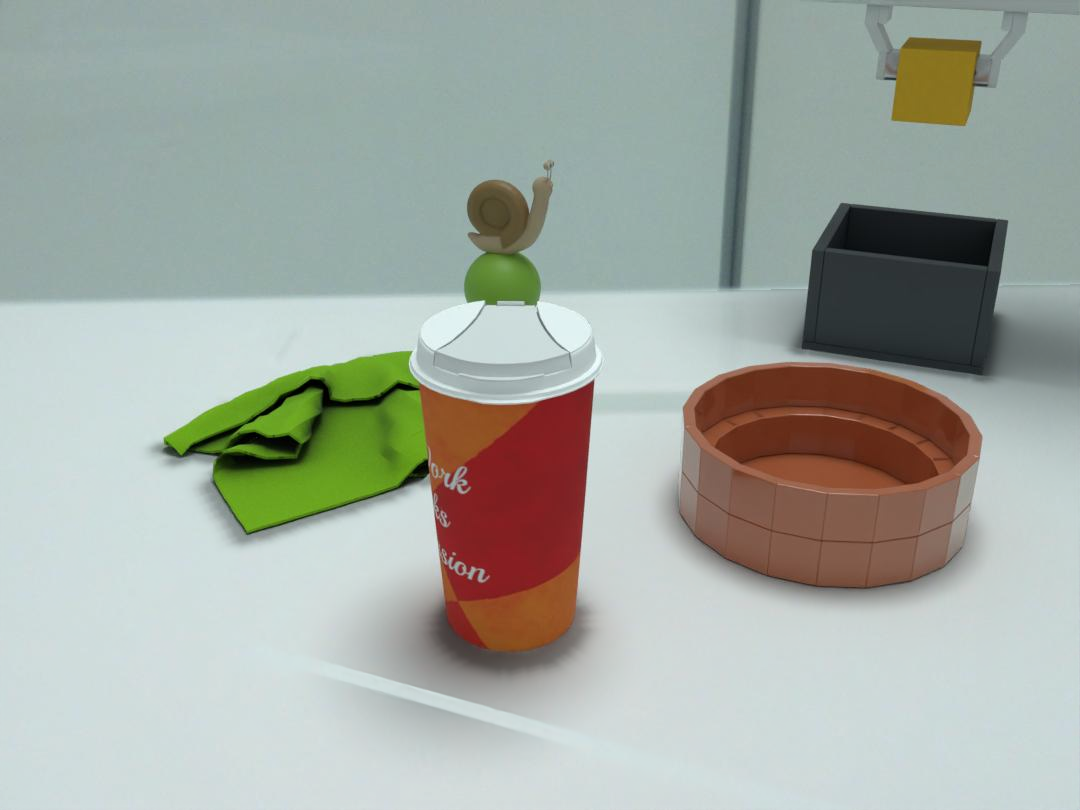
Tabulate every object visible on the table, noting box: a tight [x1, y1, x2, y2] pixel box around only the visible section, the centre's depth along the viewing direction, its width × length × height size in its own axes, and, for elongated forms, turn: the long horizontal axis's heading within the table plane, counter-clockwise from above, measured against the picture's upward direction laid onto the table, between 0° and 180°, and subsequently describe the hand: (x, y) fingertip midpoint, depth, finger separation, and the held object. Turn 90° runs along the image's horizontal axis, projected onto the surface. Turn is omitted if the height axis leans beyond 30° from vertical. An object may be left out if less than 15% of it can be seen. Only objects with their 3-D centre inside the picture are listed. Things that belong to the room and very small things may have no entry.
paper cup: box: [409, 300, 605, 652], centre depth 48 cm, size 8×8×14 cm
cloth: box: [163, 350, 430, 534], centre depth 67 cm, size 20×22×2 cm
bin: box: [801, 202, 1009, 376], centre depth 80 cm, size 12×12×7 cm
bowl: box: [677, 361, 984, 588], centre depth 58 cm, size 14×14×6 cm
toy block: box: [890, 36, 983, 127], centre depth 74 cm, size 4×4×4 cm
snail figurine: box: [463, 159, 555, 308], centre depth 80 cm, size 5×6×12 cm
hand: (935, 82), depth 73 cm, fingers closed on toy block, 4 cm apart
